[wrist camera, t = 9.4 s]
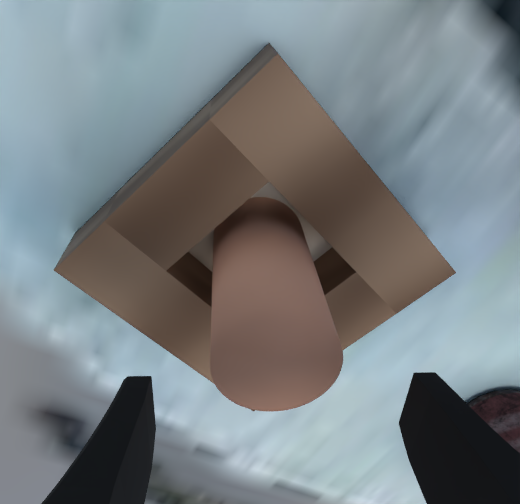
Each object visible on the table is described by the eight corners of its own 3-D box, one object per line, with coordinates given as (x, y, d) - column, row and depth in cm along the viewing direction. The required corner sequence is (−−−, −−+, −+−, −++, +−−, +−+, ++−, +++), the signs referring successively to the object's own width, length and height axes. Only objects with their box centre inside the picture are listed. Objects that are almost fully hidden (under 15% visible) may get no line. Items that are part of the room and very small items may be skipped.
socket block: (428, 238, 22) (456, 272, 19) (250, 367, 25) (253, 411, 22) (269, 42, 17) (277, 53, 14) (74, 233, 20) (53, 270, 18)
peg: (320, 239, 21) (369, 364, 14) (254, 289, 22) (270, 428, 15) (262, 178, 19) (284, 286, 12) (194, 237, 20) (181, 365, 14)
